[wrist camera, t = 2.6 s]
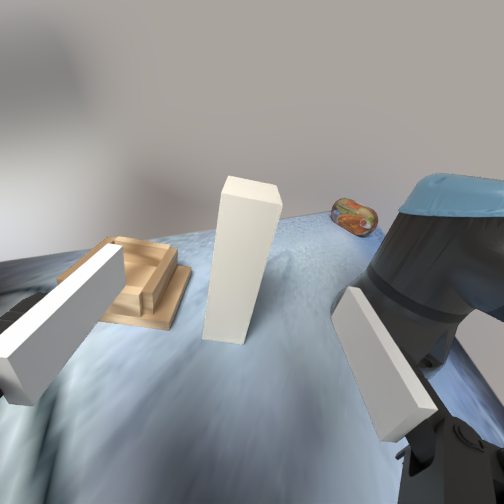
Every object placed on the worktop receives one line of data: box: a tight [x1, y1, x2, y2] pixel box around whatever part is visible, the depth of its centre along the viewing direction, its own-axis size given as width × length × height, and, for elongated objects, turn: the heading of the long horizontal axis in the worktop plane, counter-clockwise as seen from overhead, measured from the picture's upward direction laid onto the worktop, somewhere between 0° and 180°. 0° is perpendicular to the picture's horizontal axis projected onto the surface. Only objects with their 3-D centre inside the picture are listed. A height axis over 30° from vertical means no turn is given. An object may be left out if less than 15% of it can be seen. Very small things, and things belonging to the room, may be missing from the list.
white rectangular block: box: [202, 176, 283, 345], centre depth 25 cm, size 5×6×18 cm
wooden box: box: [57, 236, 191, 330], centre depth 30 cm, size 14×11×5 cm
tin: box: [331, 198, 378, 236], centre depth 68 cm, size 15×3×8 cm, turn 29°
